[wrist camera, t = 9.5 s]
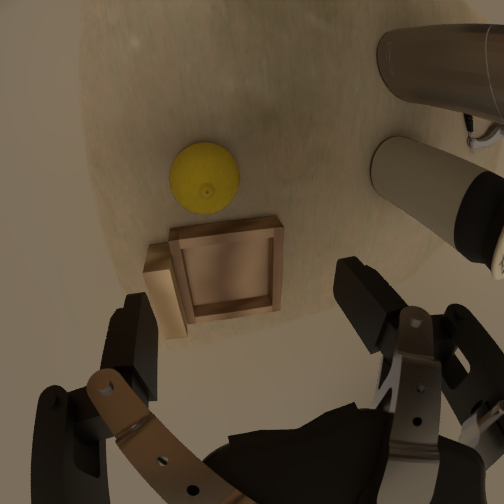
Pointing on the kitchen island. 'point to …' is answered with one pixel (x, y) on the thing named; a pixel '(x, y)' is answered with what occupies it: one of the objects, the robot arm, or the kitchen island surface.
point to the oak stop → (165, 291)
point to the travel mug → (445, 197)
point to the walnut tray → (228, 268)
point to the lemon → (204, 178)
